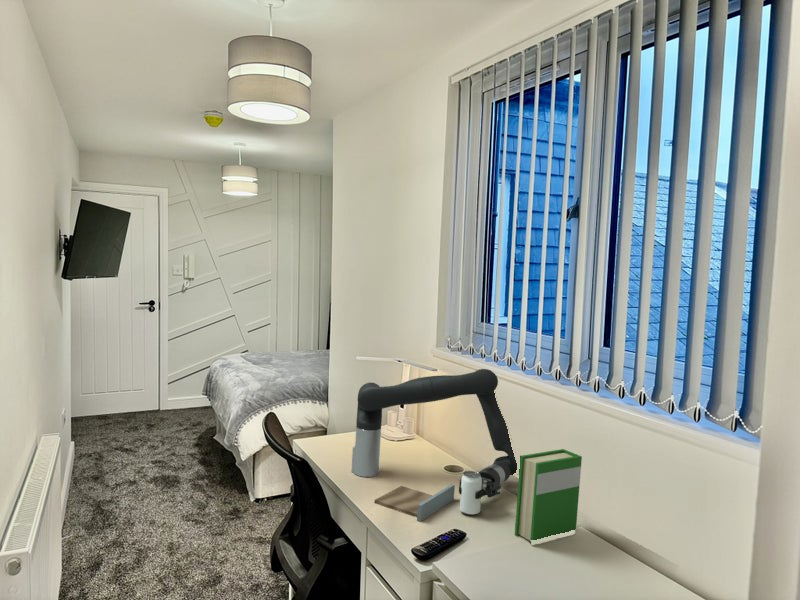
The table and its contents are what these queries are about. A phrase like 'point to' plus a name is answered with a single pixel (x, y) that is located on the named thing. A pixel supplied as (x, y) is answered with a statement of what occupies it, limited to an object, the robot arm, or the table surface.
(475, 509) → the can
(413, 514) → the walnut board
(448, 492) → the low wall
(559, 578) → the table surface
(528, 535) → the hardback book
